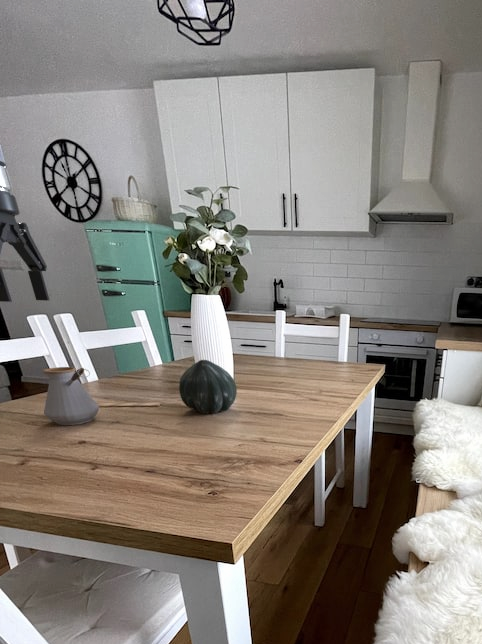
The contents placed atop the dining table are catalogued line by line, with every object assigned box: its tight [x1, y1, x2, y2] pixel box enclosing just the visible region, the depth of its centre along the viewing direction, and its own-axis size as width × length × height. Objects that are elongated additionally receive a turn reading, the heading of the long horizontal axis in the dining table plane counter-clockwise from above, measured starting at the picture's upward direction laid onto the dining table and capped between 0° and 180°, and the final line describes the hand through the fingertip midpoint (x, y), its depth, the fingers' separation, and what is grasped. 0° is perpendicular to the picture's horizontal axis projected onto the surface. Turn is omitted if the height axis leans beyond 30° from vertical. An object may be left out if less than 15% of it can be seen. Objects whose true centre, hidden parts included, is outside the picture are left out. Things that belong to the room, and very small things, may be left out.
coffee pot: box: [42, 366, 100, 426], centre depth 94 cm, size 21×12×15 cm, turn 52°
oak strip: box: [96, 402, 162, 408], centre depth 114 cm, size 24×3×1 cm, turn 97°
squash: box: [178, 359, 238, 415], centre depth 109 cm, size 14×15×15 cm
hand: (24, 301), depth 92 cm, fingers open, 13 cm apart
